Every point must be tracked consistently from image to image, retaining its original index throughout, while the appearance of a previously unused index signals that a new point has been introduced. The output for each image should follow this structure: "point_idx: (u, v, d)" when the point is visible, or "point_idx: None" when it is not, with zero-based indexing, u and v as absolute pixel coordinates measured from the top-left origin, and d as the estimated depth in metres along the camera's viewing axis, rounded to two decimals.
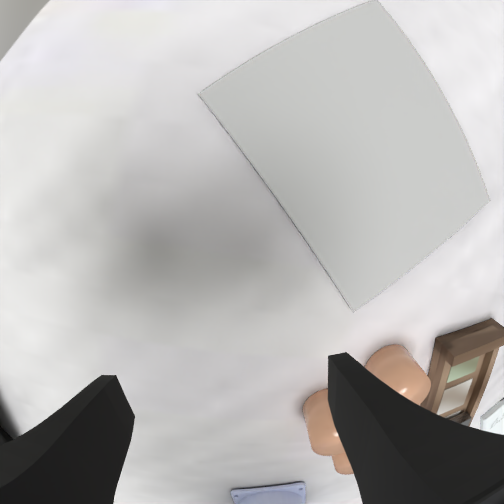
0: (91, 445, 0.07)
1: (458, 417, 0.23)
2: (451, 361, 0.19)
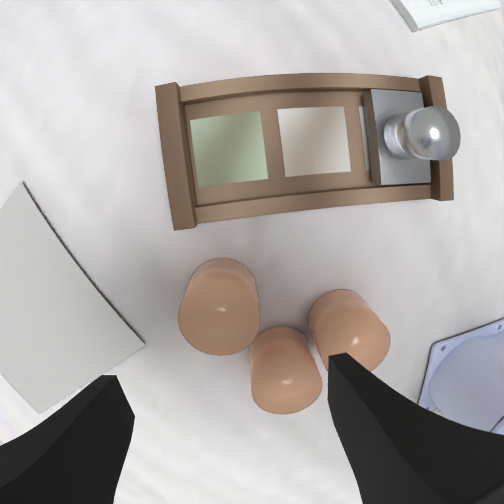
0: (91, 445, 0.07)
1: (367, 116, 0.14)
2: None
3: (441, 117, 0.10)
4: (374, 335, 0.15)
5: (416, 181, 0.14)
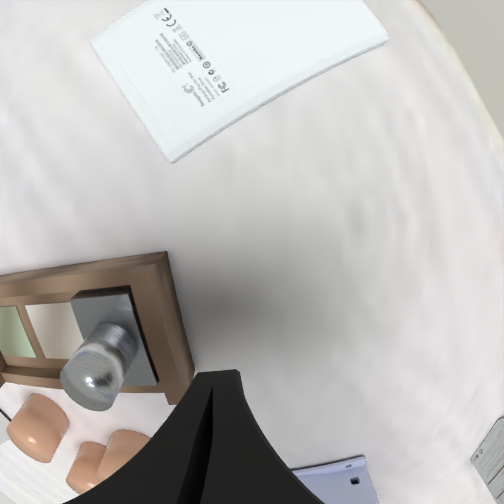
0: (209, 451, 0.07)
1: None
2: None
3: (81, 375, 0.10)
4: None
5: (139, 384, 0.14)
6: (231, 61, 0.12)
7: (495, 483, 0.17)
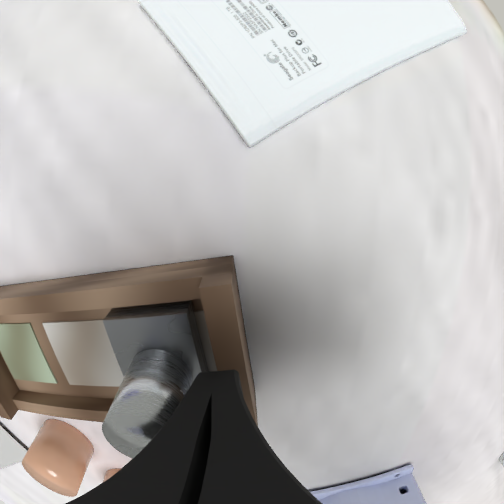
0: None
1: None
2: None
3: (136, 426, 0.07)
4: None
5: None
6: (321, 33, 0.09)
7: None
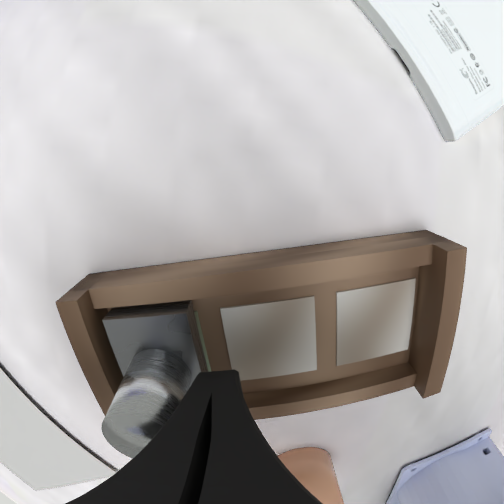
0: None
1: None
2: None
3: (135, 426, 0.07)
4: None
5: None
6: (487, 60, 0.09)
7: None
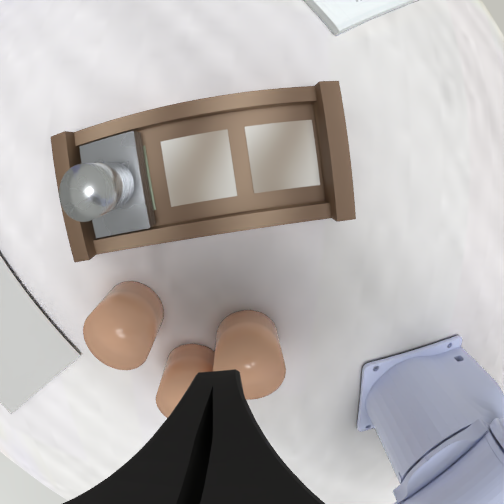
0: (209, 451, 0.07)
1: None
2: (84, 259, 0.15)
3: (81, 175, 0.11)
4: (265, 360, 0.16)
5: (132, 229, 0.15)
6: None
7: None
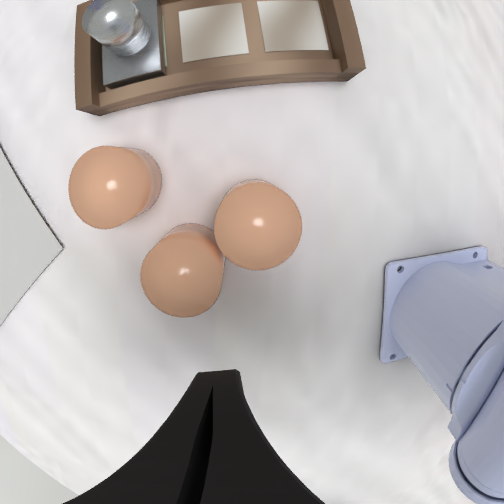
0: (209, 451, 0.07)
1: None
2: (87, 106, 0.13)
3: (108, 0, 0.09)
4: (278, 208, 0.14)
5: (142, 72, 0.13)
6: None
7: None
